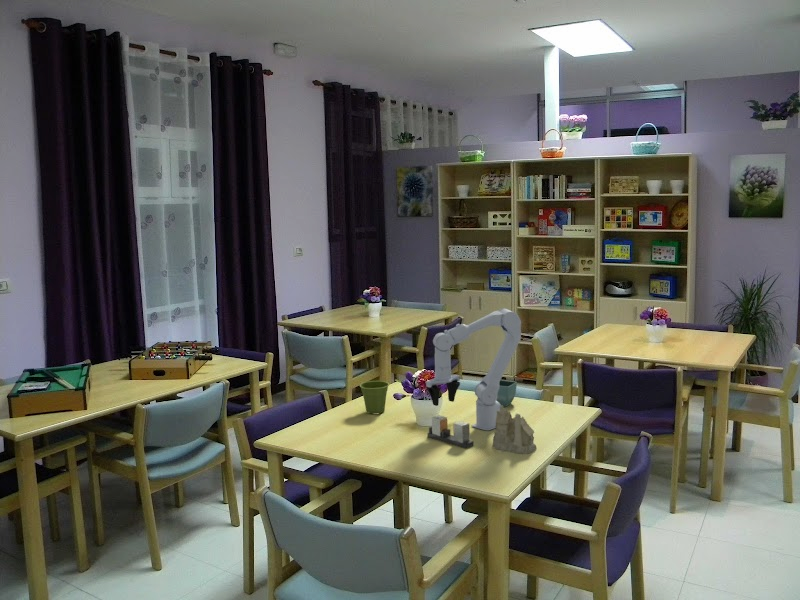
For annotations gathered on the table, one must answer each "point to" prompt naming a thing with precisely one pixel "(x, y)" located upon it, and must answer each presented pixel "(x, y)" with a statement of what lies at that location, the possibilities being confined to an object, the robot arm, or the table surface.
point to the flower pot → (506, 392)
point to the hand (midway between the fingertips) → (443, 403)
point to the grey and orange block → (439, 425)
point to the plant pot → (374, 395)
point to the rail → (449, 438)
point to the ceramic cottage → (513, 434)
